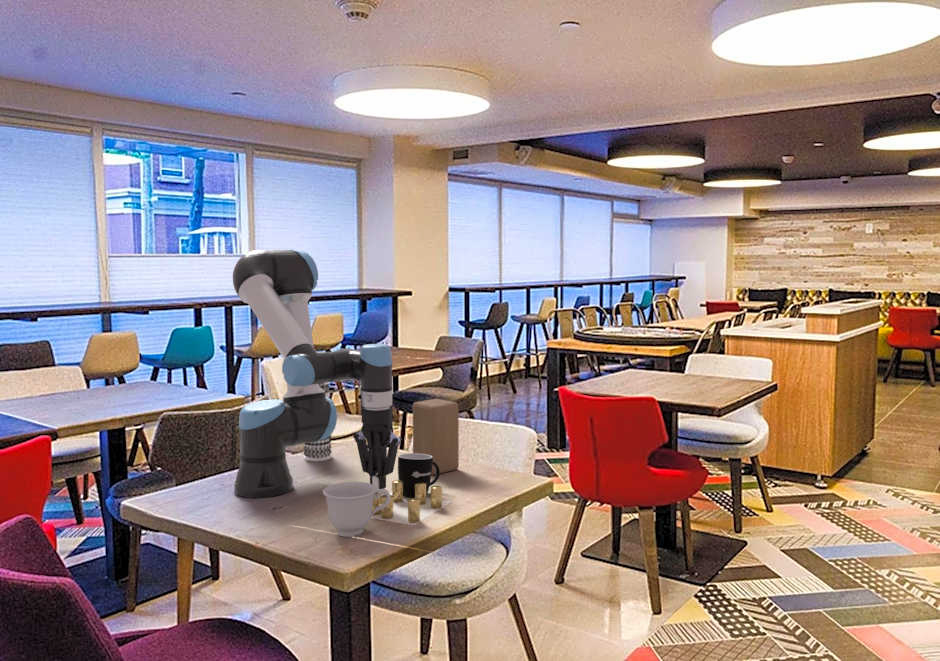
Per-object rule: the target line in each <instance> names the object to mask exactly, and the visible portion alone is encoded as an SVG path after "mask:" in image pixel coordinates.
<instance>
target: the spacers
mask: <svg viewBox="0 0 940 661" xmlns="http://www.w3.org/2000/svg"><path fill="white" fill-rule="evenodd" d="M391 484H392V485H391V492H392V495H390V502H389V504H388V505H387V506H386V507H385V508H383V509H381V510H378V511H376V512H375V513H374V514H373V515H380V514H381V518H383V519H391V518H393V502H395V503H400V502H403V501H404V496H403V481H402V480H399V479H396V480H395V479H394V480H393V481H392V482H391ZM377 492H378V491H376V492H375V493H374V494H376V496H377ZM426 498H427V495H426V483H425V482H417V483H415V498H411V499H408V522H410V523H417V522H419V523H421V522H420V505H424V504H426ZM430 498H431V508H433V509H440V508H441V509H442V500H443V487H442V486H441V485H431V486H430ZM385 501H386V495H383V496H381V494H380V495H379V498H378V499H375V498H373V505H372V511H373V510H374V509H375V508H376V507H378V506H380V505H382V504H383V503H384V502H385ZM441 509H440V510H441ZM417 524H418V523H417Z"/></svg>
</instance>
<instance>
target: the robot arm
mask: <svg viewBox="0 0 940 661" xmlns="http://www.w3.org/2000/svg"><path fill="white" fill-rule="evenodd" d="M318 270H319V269H318V267H317V264H316V262H315V259H314V258H313V257H312V256H311V255H310V254H309V253H308V252H306V251H303V250H296V249H271V250H270V249H268V250H267V249H256V250H251V251H249V252H246V253H245V254H243V255H242V256H241V257H240V258H239V259H238V261H237V262H236V264H235V265H234V269H233V272H232V285H233V288H234V291H235V293H236V295H237V296H238V298H239V299H240V300H241V301H242V302H243V303H244V304H248V306H249V307H250V309H251V310H252V311H253V312H252V313H254V315H255V316H256V319H257V320H258V321H259V323H260V324H261V326H262V327H263V329H264V330H265V332H266V333H267V335H268V336H269V338H270V340H271V341H272V343H273V344H274V346H275V347H276V349H277V350H278V352H279V354H280V355H281V357H282V358H283V361H282V364H281V371H282V374H283V379H284V381H285V382H286V388H287V390H286V392H285V393H284V395H283V396H282V399H275V398H270V399H267V400H266V399H263V400H257V401H254V402H251V403H248V404H247V405H245V406H243V407H242V408H241V410H240V411H239V418H238V419H239V420H238V421H239V422H238V429H239V450H240V451H239V454H240V455H239V456H240V464H239V467H238V470H237V475H236V476H235V477H236V478H235V480H234V483H233V484H234V486H233V487H234V494H236V495H238V496H240V497H245V498H255V499H256V498H269V497H275V496H280V495H283V494H286V493H289V492H291V491H292V490H293V488H294V480H293V476H292V475H291V471H290V467H289V465H288V463H287V457H286V456H287V455H286V448H287V447H292V446H298V445H303V444H304V443H310V442H317V441H319V440H323V439H326V438H328V437H329V436H330V435H331V436H332V434H333V432H334V430H335V429H336V427H337V426H336V425H337V421H338V412H337V411H338V410H337V406H336V404H335V403H334V401H333V399H332V398H331V397H330V398H331V399H332V400H331V399H330V398H329V397H328V398H327V397H326V394H325V391H324V390H323V389H322V388H320V387H319V383H326V382H330V383H334V382H341V381H351V380H352V381H353V380H354V381H359V382H360V386H361V387H360V389H361V397H360V398H361V399H360V400H361V407H362V409H361V423H362V426H361V430H360V431H359V432H356V433H354V434H353V435H352V437H353V439H354V441H355V443H356V446H357V451H358V454H359V455H358V456H359V459H360V460H359V461H360V465H361V469H362V472H363V473H367V474H368V475H369V483H370V484H372V485H374V486H375V487H376V488H377V491H378V490H380V489H386V487H387V476H388V475H390V474H393V472H394V470H395V469H394V468H395V464H396V460H397V459H396V458H397V456H398V455H397V454H398V449H399V446H400V444H401V442H402V441H403V438H402V436H397V434H395V433H394V429H393V426H392V424H393V408H392V406H393V359H392V348H391V346H390V345H388V344H385V343H368V344H367V343H366V344H363V345H362V346H361V347H360V350H359V349H353V348H349V347H347V348H338V349H336V350H334V351H321V352H317V350H316V349H315V348H314V347H315V346H314V340H313V333H312V325H311V317H310V310H309V303H308V302H309V300H310V299H311V298H312V297H313V292H312V291H314V290H315V289H316V287H317V285H318V282H317V281H318V280H319V271H318ZM388 443H389V446H388ZM304 445H305V444H304ZM387 448H388V449H387ZM383 495H384V494H381V496H383Z"/></svg>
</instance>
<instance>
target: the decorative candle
mask: <svg viewBox="0 0 940 661" xmlns="http://www.w3.org/2000/svg"><path fill="white" fill-rule="evenodd" d="M330 383H331V382H326V383H319V387H320V388H322V389H323V390H324V391H325V394H326V397H327V398H330V399H331V400H332V401H333V399H332V398H331V394H330V389H329V387H330V385H329V384H330ZM331 438H332V434H331V435H330V436H329V437H328V438H326V439H323V440H319V441H317V442H310V443H304V446H303V448H302V449H303V452H302V454H303V455H304V456H303V459H304V460H305V461H308V462H323V461H327V460H330V459H331V458H332V453H333V452H332V450H331V449H332V445H331V443H332V439H331Z"/></svg>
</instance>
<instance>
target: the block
mask: <svg viewBox="0 0 940 661" xmlns="http://www.w3.org/2000/svg"><path fill="white" fill-rule="evenodd" d="M459 430H460V429H459V404H458V402H455V401H450V400H445V399H441V398H432V399H426V400H425V399H424V400H421V401H420V400H419V401H415V402H413V404H412V453H417V454H427V455H431V456H432V457H433V462H435V463H436V464H437V465H438V467H439V471H440V474H444V473H448V472H451V471H456V470H458V469H459V460H460V459H459V457H460V456H459V452H460V451H459V449H460V448H459V441H460V440H459V435H460V434H459ZM431 476H436V468H435V466H434V465H433V464H432V473H431Z"/></svg>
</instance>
